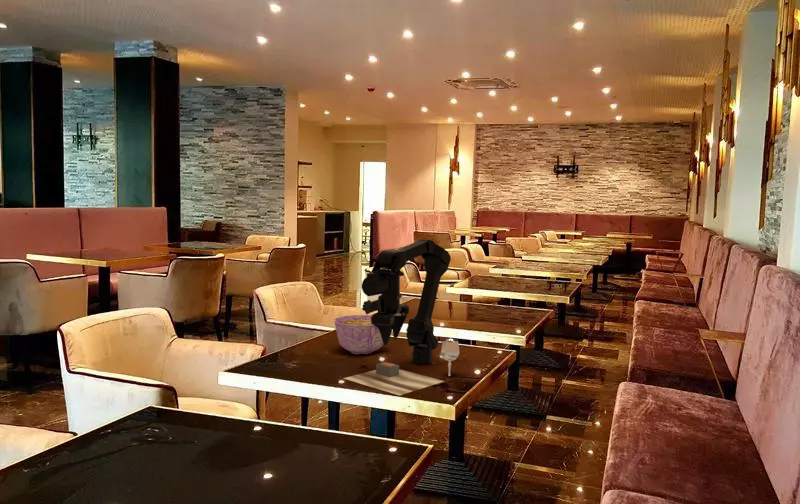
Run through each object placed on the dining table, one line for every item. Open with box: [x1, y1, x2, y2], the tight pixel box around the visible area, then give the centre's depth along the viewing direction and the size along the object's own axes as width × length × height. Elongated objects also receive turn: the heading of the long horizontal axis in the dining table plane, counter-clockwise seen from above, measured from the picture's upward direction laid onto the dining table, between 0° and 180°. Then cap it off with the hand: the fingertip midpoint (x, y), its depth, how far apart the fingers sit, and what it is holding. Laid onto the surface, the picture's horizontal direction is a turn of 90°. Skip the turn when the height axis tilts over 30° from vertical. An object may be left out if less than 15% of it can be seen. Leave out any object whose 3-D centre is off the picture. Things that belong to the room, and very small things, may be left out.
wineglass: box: [440, 338, 460, 377], centre depth 202 cm, size 6×6×12 cm
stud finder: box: [375, 361, 400, 377], centre depth 202 cm, size 4×6×3 cm, turn 48°
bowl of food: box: [333, 314, 384, 355], centre depth 234 cm, size 20×20×12 cm
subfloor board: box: [343, 368, 445, 396], centre depth 196 cm, size 20×23×1 cm
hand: (390, 341), depth 203 cm, fingers open, 9 cm apart
